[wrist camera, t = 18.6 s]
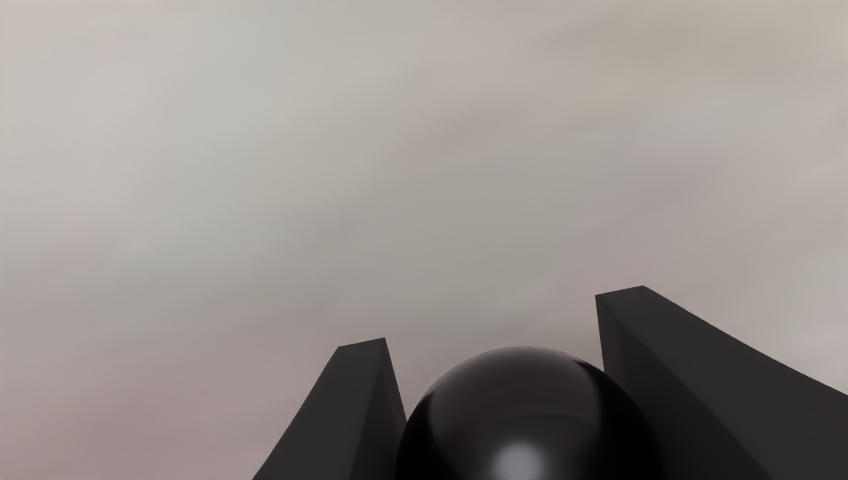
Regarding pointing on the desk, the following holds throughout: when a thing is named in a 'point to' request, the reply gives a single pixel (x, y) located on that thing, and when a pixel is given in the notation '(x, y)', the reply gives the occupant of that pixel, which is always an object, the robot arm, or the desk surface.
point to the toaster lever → (527, 423)
